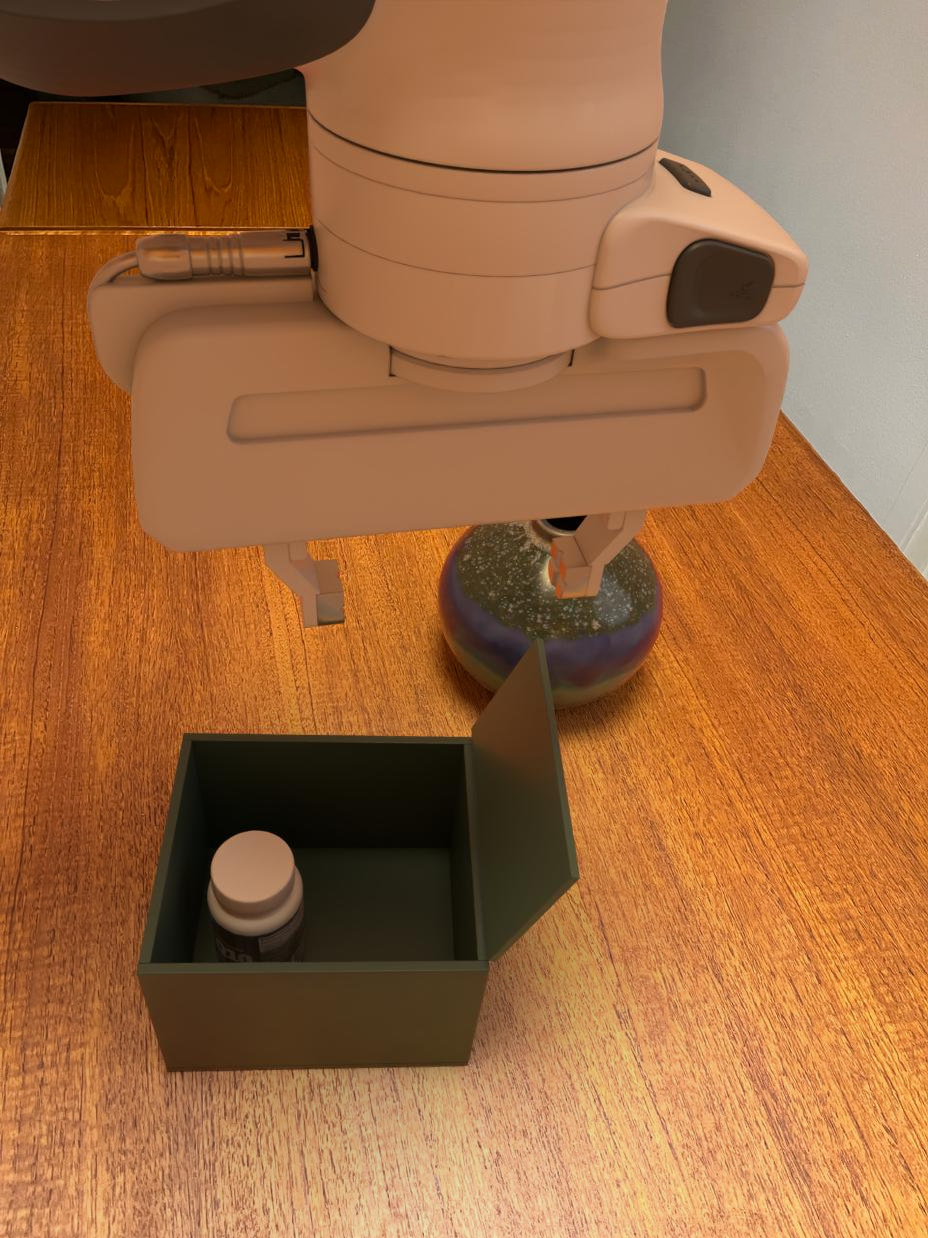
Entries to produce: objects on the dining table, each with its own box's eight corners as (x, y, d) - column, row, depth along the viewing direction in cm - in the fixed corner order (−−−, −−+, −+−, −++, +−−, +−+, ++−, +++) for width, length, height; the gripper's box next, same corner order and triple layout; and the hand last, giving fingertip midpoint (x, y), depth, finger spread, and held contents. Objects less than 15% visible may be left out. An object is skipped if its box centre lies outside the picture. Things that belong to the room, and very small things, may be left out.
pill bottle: (199, 943, 52) (182, 859, 47) (271, 892, 55) (263, 806, 49) (250, 1008, 50) (238, 928, 44) (323, 952, 53) (321, 869, 47)
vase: (509, 777, 63) (538, 632, 54) (393, 628, 72) (400, 481, 62) (686, 693, 70) (738, 551, 60) (559, 566, 78) (588, 425, 69)
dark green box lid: (470, 728, 51) (477, 730, 51) (487, 961, 42) (496, 963, 42) (536, 637, 46) (543, 639, 47) (571, 876, 37) (580, 878, 37)
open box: (456, 845, 59) (472, 736, 52) (468, 1066, 50) (489, 970, 42) (203, 845, 57) (183, 732, 50) (167, 1072, 48) (135, 974, 41)
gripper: (62, 295, 22) (157, 699, 32) (866, 262, 26) (735, 629, 36) (77, 189, 26) (157, 572, 36) (764, 175, 30) (671, 522, 40)
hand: (449, 600), depth 36 cm, fingers open, 8 cm apart
